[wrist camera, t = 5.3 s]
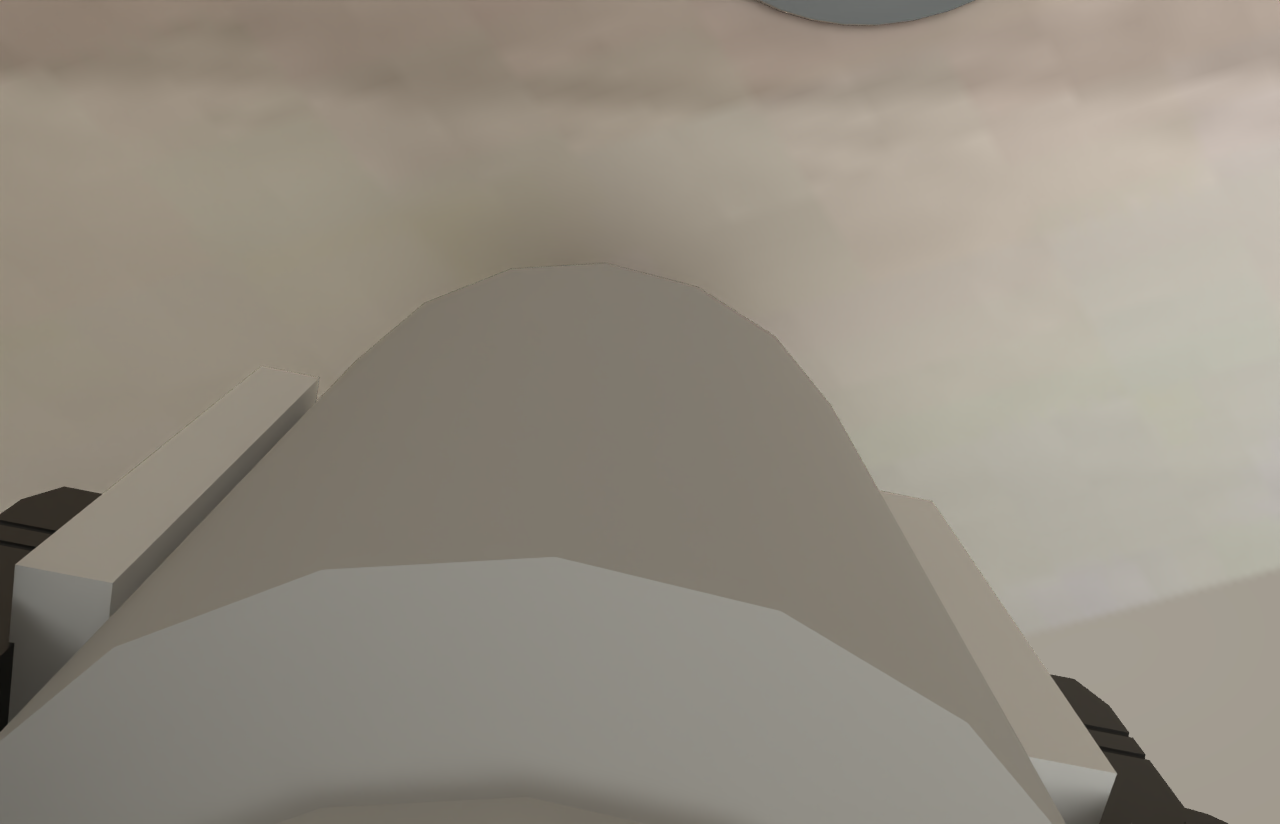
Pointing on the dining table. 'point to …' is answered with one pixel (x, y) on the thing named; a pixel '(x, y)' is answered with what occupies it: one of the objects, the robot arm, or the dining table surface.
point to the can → (537, 602)
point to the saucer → (863, 10)
